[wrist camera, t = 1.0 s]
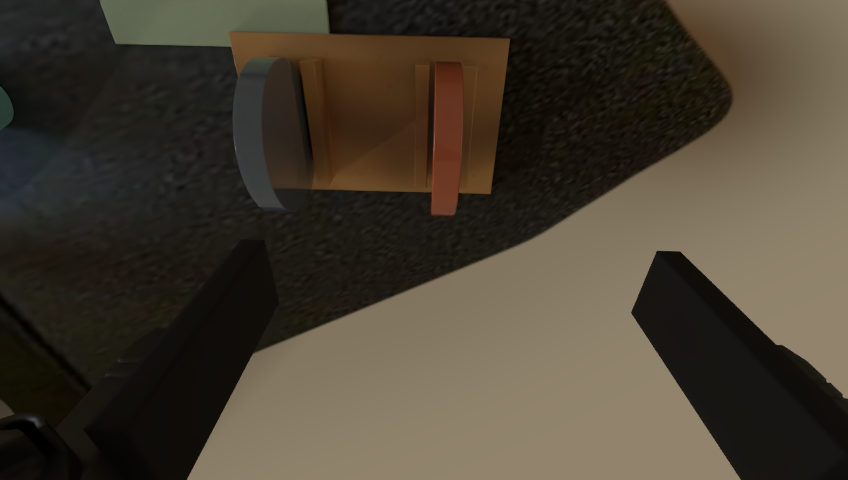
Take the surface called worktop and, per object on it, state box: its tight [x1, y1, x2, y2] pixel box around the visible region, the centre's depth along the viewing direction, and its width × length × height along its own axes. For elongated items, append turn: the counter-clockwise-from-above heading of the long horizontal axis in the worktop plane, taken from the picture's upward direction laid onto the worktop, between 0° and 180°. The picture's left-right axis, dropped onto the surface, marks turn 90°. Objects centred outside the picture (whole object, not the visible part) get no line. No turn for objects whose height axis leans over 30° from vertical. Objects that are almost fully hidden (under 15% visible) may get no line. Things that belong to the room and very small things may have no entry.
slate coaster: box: [233, 57, 315, 213], centre depth 25 cm, size 10×2×10 cm, turn 179°
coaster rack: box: [228, 31, 510, 194], centre depth 29 cm, size 12×20×4 cm, turn 89°
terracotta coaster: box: [430, 61, 464, 217], centre depth 25 cm, size 10×2×10 cm, turn 179°
